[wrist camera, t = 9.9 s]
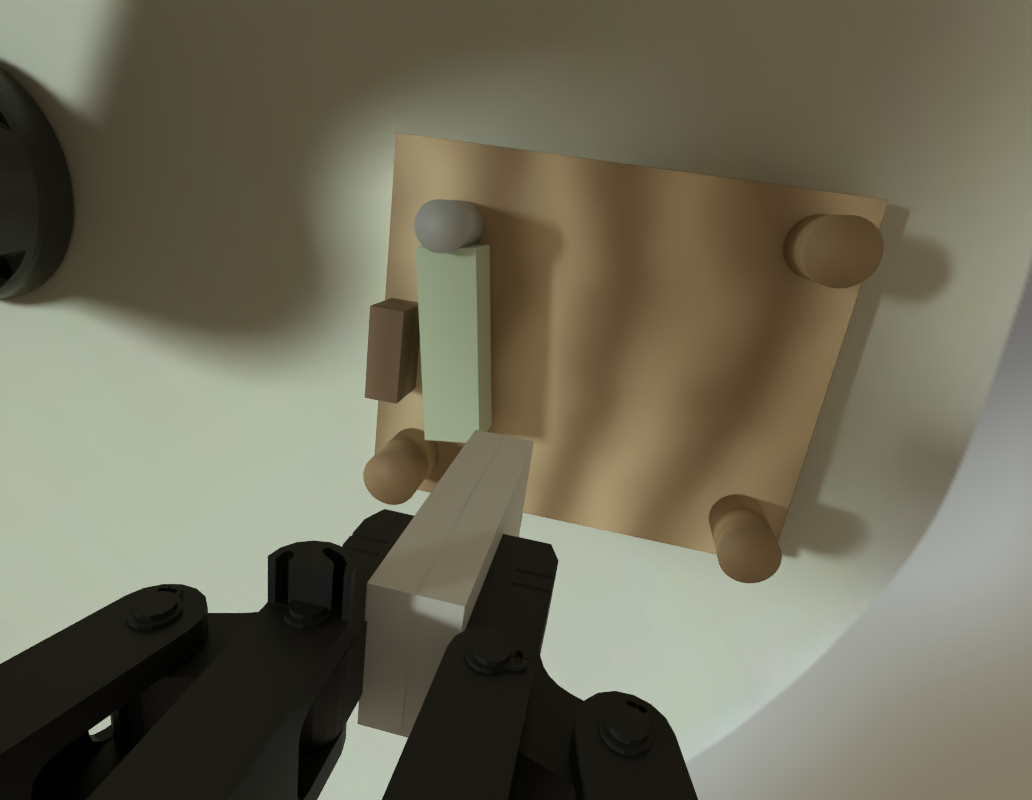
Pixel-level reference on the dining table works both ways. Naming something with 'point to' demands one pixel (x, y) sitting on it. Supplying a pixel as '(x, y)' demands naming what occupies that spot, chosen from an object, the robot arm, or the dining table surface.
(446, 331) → the rail
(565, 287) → the stool board
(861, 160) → the dining table surface
